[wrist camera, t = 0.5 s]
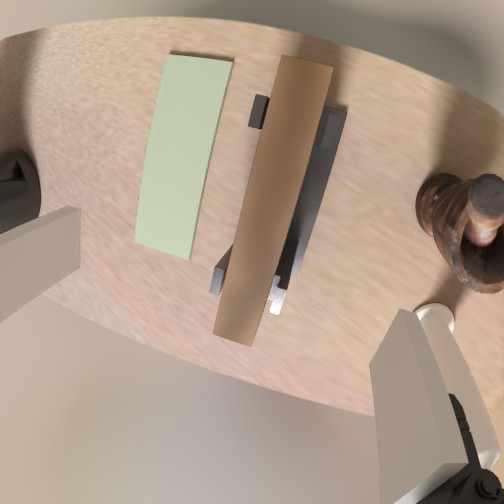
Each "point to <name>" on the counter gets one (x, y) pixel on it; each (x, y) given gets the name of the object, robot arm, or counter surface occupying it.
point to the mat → (180, 152)
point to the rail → (272, 194)
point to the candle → (459, 379)
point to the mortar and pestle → (467, 227)
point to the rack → (305, 205)
